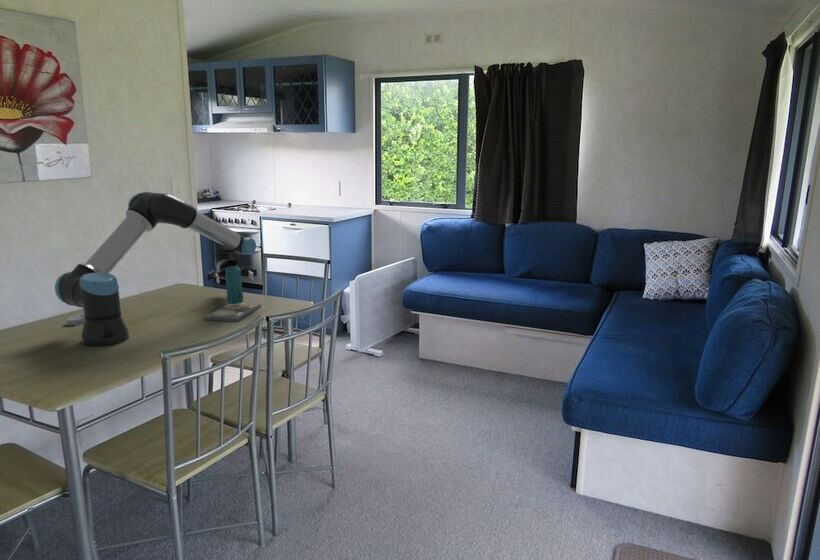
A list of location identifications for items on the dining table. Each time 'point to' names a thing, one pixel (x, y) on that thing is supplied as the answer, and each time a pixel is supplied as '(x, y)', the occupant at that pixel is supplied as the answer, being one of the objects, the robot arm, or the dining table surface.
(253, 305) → the dark grey flat block
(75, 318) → the electronic device
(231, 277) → the beverage bottle
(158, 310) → the dining table surface
